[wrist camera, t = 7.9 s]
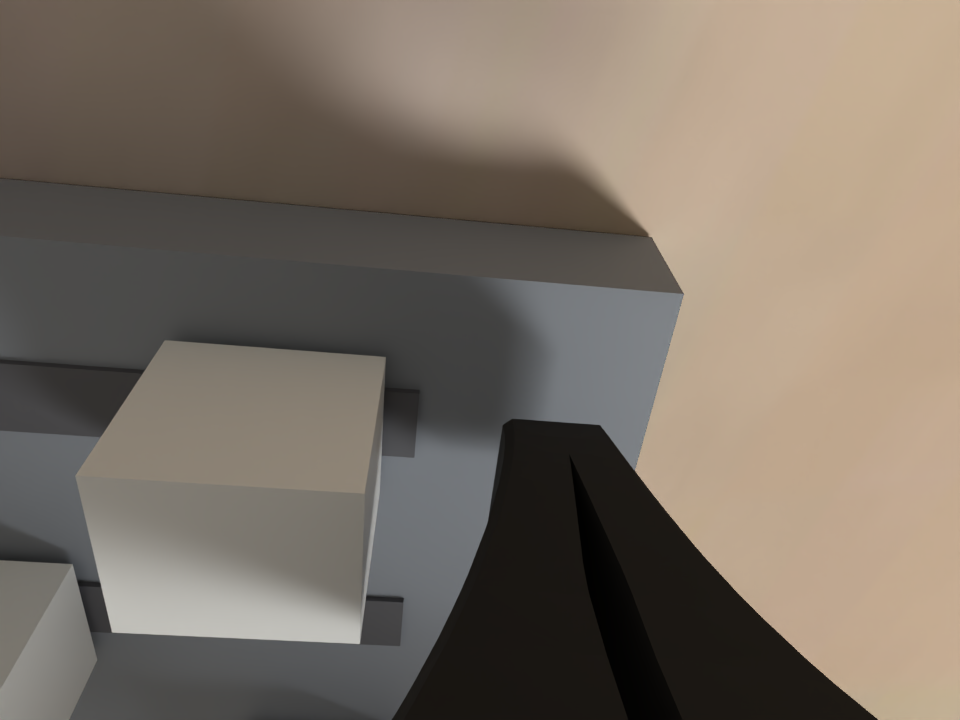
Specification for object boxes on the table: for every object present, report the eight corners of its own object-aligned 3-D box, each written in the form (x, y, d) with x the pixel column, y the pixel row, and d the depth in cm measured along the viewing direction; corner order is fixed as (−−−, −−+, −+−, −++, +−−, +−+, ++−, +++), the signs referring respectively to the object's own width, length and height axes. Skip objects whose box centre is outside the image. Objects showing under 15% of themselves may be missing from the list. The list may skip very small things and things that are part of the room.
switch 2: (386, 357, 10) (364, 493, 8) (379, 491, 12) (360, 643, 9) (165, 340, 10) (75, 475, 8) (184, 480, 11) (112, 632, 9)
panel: (651, 237, 12) (685, 297, 10) (529, 742, 19) (536, 830, 17) (-439, 138, 11) (-621, 187, 9) (-127, 718, 18) (-191, 810, 16)
